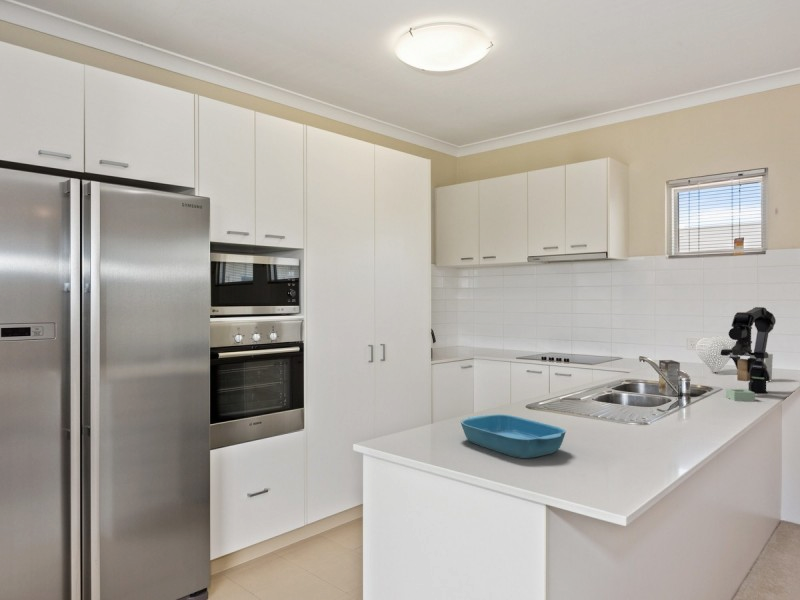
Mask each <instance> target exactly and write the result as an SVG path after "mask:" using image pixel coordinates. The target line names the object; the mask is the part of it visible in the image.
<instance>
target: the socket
mask: <svg viewBox="0 0 800 600" xmlns="http://www.w3.org/2000/svg"><path fill="white" fill-rule="evenodd" d="M726 397H727V398H726ZM755 397H756V393H755V392H752V391H749V389H744V388H742V389H741V388H726V389H725V398H726V399H728V398H730V399H729V400H731V399H732V400H731V401H733V400H735V401H734V402H755V399H756V398H755Z"/></svg>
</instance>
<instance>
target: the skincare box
mask: <svg viewBox="0 0 800 600" xmlns="http://www.w3.org/2000/svg"><path fill="white" fill-rule="evenodd" d="M752 352H753V353H754V351H752ZM767 353H768V358H765V359H764V362H765V364H766V366H767V371H768V373H769V376H770V379H769V381H770V380H771V381H772V377H773V359H774V357H773V354H772V353H769V352H767ZM756 378H760V377H756Z"/></svg>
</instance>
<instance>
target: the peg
mask: <svg viewBox="0 0 800 600" xmlns="http://www.w3.org/2000/svg"><path fill="white" fill-rule="evenodd" d="M736 370H737V374H736V375H737V381H740V382H750V372H749V373H748V358H740V359H738V366H737V368H736Z"/></svg>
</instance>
